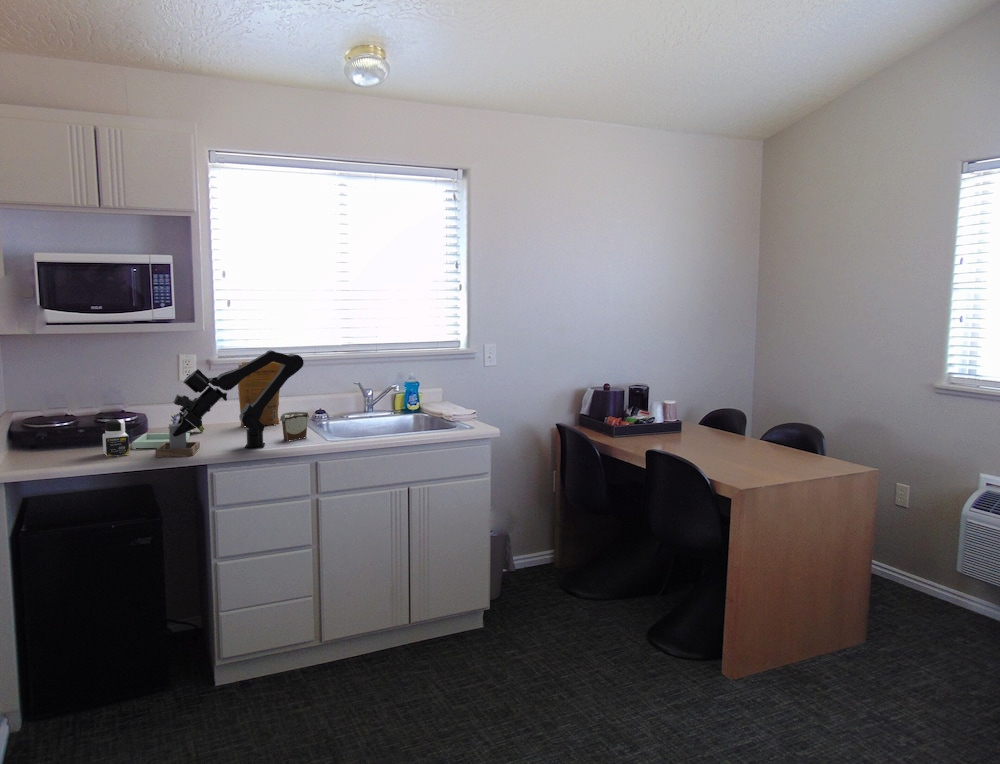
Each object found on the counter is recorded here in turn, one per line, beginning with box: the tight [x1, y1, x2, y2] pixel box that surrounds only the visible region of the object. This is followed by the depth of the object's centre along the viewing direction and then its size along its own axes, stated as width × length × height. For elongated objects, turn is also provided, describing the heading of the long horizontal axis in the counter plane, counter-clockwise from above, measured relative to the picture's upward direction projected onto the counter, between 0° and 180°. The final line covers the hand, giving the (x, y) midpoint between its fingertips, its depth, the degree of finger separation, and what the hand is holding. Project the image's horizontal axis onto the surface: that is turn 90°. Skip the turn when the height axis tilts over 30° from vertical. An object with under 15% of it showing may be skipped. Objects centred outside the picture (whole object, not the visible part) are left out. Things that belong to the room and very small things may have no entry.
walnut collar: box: [154, 441, 201, 457], centre depth 258 cm, size 12×12×2 cm
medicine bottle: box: [102, 419, 130, 457], centre depth 253 cm, size 7×7×12 cm
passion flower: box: [168, 411, 205, 433], centre depth 292 cm, size 11×11×12 cm
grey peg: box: [168, 423, 186, 449], centre depth 258 cm, size 5×5×10 cm
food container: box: [279, 411, 310, 442], centre depth 285 cm, size 12×6×10 cm, turn 146°
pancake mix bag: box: [237, 361, 282, 427], centre depth 310 cm, size 7×19×28 cm, turn 124°
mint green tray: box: [131, 432, 191, 450], centre depth 271 cm, size 16×16×3 cm
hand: (173, 434), depth 257 cm, fingers closed on grey peg, 5 cm apart
